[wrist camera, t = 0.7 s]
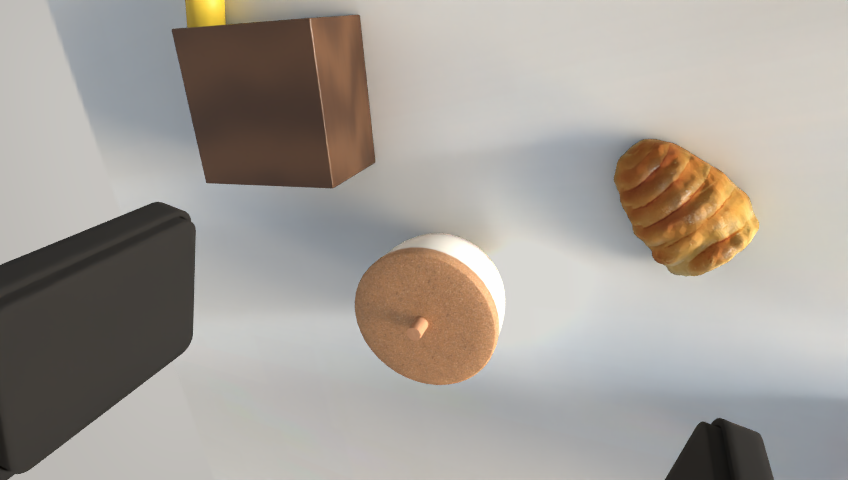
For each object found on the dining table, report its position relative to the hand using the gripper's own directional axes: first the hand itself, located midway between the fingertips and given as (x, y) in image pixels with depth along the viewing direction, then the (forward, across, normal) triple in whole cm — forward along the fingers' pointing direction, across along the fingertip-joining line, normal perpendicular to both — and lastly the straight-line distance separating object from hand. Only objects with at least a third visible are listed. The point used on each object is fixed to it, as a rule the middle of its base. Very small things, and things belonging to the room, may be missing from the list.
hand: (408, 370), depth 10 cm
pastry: (+32, -9, +5) cm, 34 cm away
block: (+32, +20, +5) cm, 38 cm away
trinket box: (+32, +5, +16) cm, 36 cm away
